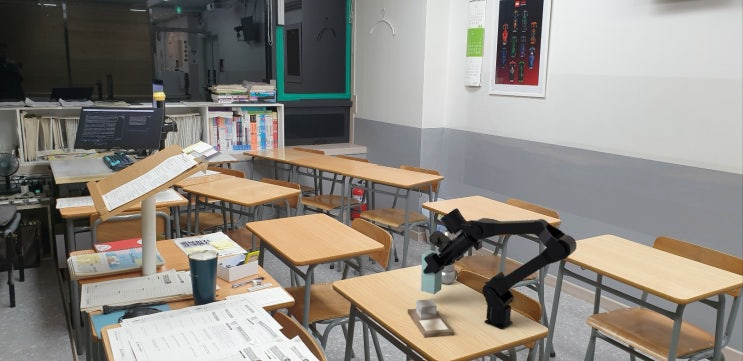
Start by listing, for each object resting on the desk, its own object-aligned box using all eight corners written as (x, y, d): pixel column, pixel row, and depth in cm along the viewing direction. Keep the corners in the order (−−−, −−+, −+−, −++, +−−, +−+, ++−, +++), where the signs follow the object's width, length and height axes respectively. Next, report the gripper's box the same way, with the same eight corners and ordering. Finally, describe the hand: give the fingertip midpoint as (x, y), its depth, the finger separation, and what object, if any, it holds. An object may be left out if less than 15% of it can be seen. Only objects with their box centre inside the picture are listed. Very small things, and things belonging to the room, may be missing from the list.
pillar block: (441, 289, 179) (442, 253, 176) (434, 294, 175) (435, 257, 173) (428, 286, 182) (429, 250, 179) (421, 290, 178) (422, 254, 175)
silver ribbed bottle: (433, 280, 200) (436, 229, 196) (449, 278, 202) (452, 227, 198) (441, 286, 194) (444, 234, 190) (457, 284, 196) (461, 232, 193)
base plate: (433, 310, 173) (434, 295, 172) (453, 335, 157) (454, 318, 156) (407, 312, 171) (408, 297, 170) (424, 337, 155) (425, 320, 154)
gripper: (457, 219, 179) (427, 244, 188) (431, 231, 164) (399, 257, 173) (477, 246, 176) (446, 270, 185) (452, 260, 161) (419, 286, 170)
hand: (428, 270), depth 178 cm, fingers closed on pillar block, 5 cm apart
